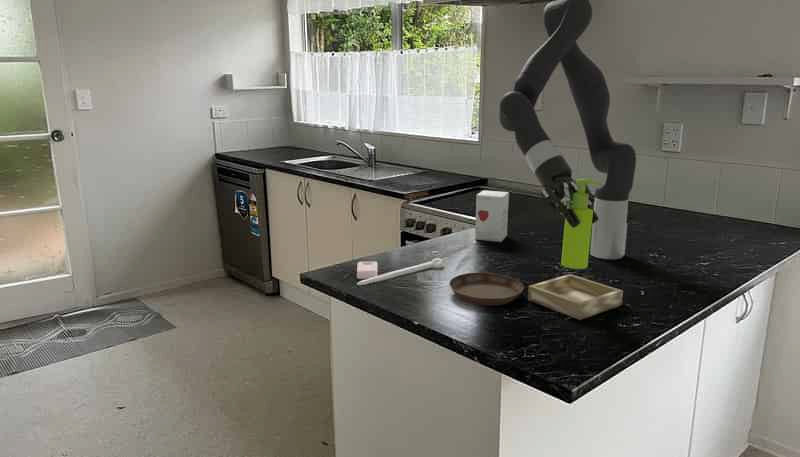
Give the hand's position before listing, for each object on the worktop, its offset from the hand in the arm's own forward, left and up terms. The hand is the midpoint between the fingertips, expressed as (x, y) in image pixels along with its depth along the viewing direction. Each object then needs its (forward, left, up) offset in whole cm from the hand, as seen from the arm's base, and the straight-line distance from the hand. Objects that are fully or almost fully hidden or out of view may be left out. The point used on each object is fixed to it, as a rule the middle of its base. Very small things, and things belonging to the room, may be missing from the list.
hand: (586, 223), depth 133 cm
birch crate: (0, -2, -19) cm, 19 cm away
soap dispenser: (0, -2, -10) cm, 11 cm away
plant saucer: (+13, -18, -20) cm, 29 cm away
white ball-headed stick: (+20, -41, -20) cm, 50 cm away
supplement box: (-26, -56, -20) cm, 64 cm away
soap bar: (+27, -49, -20) cm, 59 cm away
